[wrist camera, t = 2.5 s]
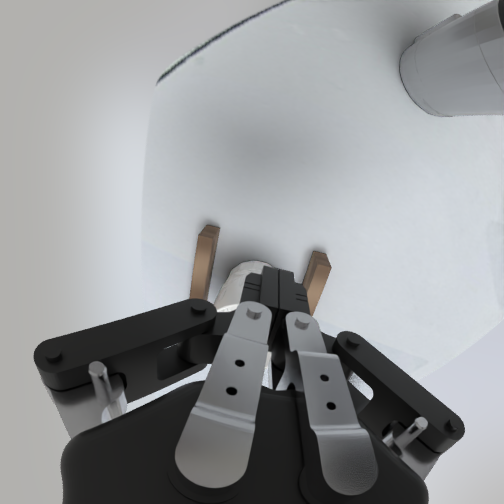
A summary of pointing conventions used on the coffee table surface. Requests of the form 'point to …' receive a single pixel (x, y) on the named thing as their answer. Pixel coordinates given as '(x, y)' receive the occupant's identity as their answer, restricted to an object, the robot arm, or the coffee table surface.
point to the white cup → (237, 288)
